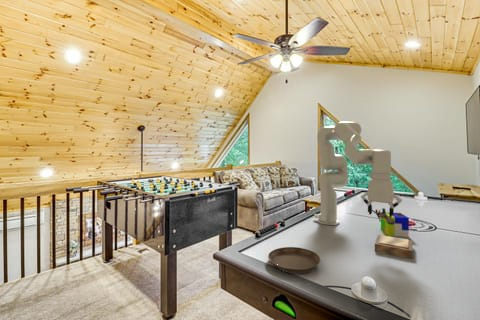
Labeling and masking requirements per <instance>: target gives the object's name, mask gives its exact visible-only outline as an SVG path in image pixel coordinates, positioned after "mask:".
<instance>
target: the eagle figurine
mask: <svg viewBox="0 0 480 320" xmlns="http://www.w3.org/2000/svg"><path fill="white" fill-rule="evenodd" d="M371 210H372V213H374V214H375V215H376V216H377V218H378V222H381V220H382V218H385V219H386V221H387V224H390V225H393V224H394V223H395V222H394V220H393V219H392V218H390V217H389V216H387V215H386V214H387V213H386V212H387V211H386V208H385V207H384V208H381V210H382V211H381V210H380V209H379V210H378V209H375V210H373V208H372V209H371Z"/></svg>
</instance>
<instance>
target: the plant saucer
mask: <svg viewBox="0 0 480 320" xmlns="http://www.w3.org/2000/svg"><path fill="white" fill-rule="evenodd" d="M267 258H268V260H269V262H270V263H271V265H273V267H275V268H276V267H277V268H279V269H281V270H284V271H287V272H290V273H289V274H293V273H294V274H295V275H297V274H298V275H299V274H306V273H309V272H311V271H313V270H315V269H316V268H317V267H318V266H319V264H320V263H321V258H320V256H319V255H318V254H317V253H316V252H314V251H313V250H309V249H306V248H302V247H295V246H286V247H285V246H284V247H279V248H274V249H272V251H270V252H269V253H268V254H267ZM277 264H278V265H277ZM277 268H276V269H277ZM279 269H278V270H279ZM281 270H280V271H281ZM284 271H283V272H284ZM287 272H286V273H287Z"/></svg>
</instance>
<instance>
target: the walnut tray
mask: <svg viewBox="0 0 480 320" xmlns="http://www.w3.org/2000/svg"><path fill="white" fill-rule="evenodd" d="M413 249H414V247H413V239H407V238H401V237H396V236H395V237H394V236H388V235H382V234H377V236H376V239H375V242H374V252H375V253H381V254H385V255H389V256H390V255H391V256H395V257H401V258H404V259H405V258H406V259H410V260H411V259H412V260H413V259H414V258H413V254H414V250H413Z"/></svg>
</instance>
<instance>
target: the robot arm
mask: <svg viewBox="0 0 480 320" xmlns="http://www.w3.org/2000/svg"><path fill="white" fill-rule="evenodd" d="M361 133H362V127H361V125H360V123H359V122H356V121H340V122H337V123H336V124H335V125H327V126H323V127H321V128H319V129H318V132H317V137H316V139H317V144H318V147H319V157H320V167H321V169H323V170H324V171H325V170H326V171H327V172H326V171H325V172H323V173H321V174H320V175H319V177H318V182H319V189H320V214H318V213H317V214H316V213H314V214H313V216H314V218H315V219H317V222H318V224H320V225H325V226H337V225H339V224H340V220H339V219H337V216H338V213H337V210H338V209H337V208H338V207H337V205H338V196H337V193H336V191H335V189H334V188H344V187H346V186H347V185H348V183H349V171H348V170H349V169H348V161H347V159H348V160H349V161H350V162H351V163H352V164H354V165H357V166H371V173H367V177H369V178H371V179H369V181H368V186H367V192H365V193H364V194H362V195H360V198H361V199H362V201H363V203H364V204H366V206H367V212H368V215H372V214H373V211H372V210H373V205H372V203H373V202H375V203H382V204H384V203H385V204H388V205H389V210H388V211H389V212H388V213H389V217H392V215H393V214H394V213H395V212H394V209H395V208H397V206H399V205H400V204H401V203H402V201H403V200H402V199H401V198H400V196H398V195H396V194H395V191H394V182H393V180H392V179H391V175H392V174H391V173H392V172H391V170H392V168H391V167H392V152H391V151H390V150H389V149H375V148H374V149H371V148H370V149H369V148H367V149H364V148H363V149H359V148H357V146H358V145H359V144H360V143H361V141H362V136H361ZM331 141H341V142H342V143H343V144H344V153H345V156H346V157H347V159H346V157H345V156H344V154H343V155H342V154H336V153H335V147H334V145H333V143H332V142H331ZM328 171H329V172H328ZM366 197H367V198H366ZM395 200H397V201H396V202H394V201H395ZM371 209H372V210H371Z"/></svg>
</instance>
